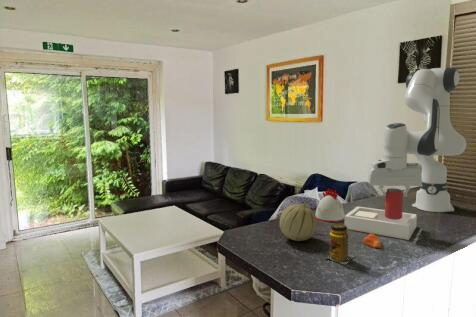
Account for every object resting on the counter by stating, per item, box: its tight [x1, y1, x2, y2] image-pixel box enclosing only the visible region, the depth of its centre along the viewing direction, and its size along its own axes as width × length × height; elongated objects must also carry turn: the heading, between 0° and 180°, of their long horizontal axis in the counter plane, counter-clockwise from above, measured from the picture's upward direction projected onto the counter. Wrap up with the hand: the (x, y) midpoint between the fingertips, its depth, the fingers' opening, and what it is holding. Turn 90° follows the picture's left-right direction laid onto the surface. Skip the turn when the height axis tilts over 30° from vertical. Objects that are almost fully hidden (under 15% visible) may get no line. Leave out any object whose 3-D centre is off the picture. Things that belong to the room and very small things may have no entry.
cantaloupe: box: [279, 202, 318, 242], centre depth 132 cm, size 15×15×15 cm
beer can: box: [384, 187, 404, 220], centre depth 137 cm, size 7×7×12 cm
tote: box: [343, 206, 418, 241], centre depth 141 cm, size 18×25×6 cm
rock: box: [363, 233, 383, 249], centre depth 125 cm, size 12×12×4 cm
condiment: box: [329, 223, 355, 266], centre depth 114 cm, size 7×8×12 cm
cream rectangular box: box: [354, 211, 378, 220], centre depth 144 cm, size 8×8×5 cm
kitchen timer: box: [314, 188, 346, 223], centre depth 157 cm, size 14×14×15 cm
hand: (393, 196), depth 137 cm, fingers closed on beer can, 7 cm apart
